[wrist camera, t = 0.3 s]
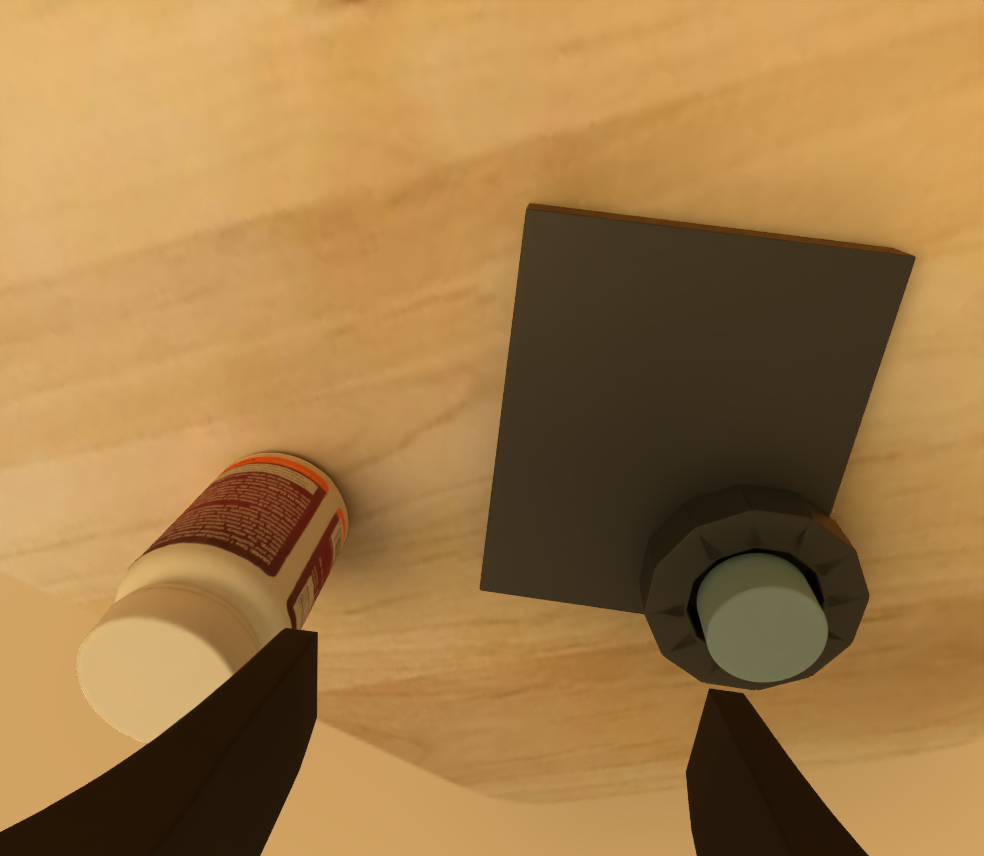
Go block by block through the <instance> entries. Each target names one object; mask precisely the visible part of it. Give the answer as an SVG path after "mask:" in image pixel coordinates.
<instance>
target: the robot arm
mask: <svg viewBox="0 0 984 856" xmlns="http://www.w3.org/2000/svg"><path fill="white" fill-rule="evenodd" d="M317 654H318V632H312V631H305V630H298V629H291V628H285V629H283V630H282V631H280V632H279V633H278V634H277V635H276V636H275V637H274V638H273V639H272V640H270V641H269V642H268V643H267V644H266V645H265V646H264V647H263V648H262V649H261V650H260V651H259V652H258V653H257V654H255V655H254V656H253V657H252V658H251V659H250V660H249V661H248V662H247V663H246V664H245V665H243V666H242V667H241V668H240V669H239V670H238V671H237V672H236V673H235V674H233V675H232V676H231V677H230V678H229V679H228V680H227V681H225V682H224V683H223V684H222V685H221V686H220V687H218V688H217V689H216V690H215V691H214V692H213V693H211V694H210V695H209V696H208V697H207V698H206V699H204V700H203V701H202V702H201V703H200V704H198V705H197V706H196V707H195V708H194V709H192V710H191V711H190V712H188V713H187V714H186V715H185V716H183V717H182V718H181V719H179V720H178V721H177V722H176V723H174V724H173V725H172V726H170V727H169V728H168V729H167V730H165V731H164V732H163V733H162V734H160V735H159V736H158V737H156V738H155V739H154V740H152V741H151V742H149V743H148V744H147V745H145V746H144V747H143V748H141V749H140V750H138V751H137V752H136V753H134V754H133V755H131V756H130V757H128V758H127V759H125V760H124V761H122V762H121V763H120V764H118V765H116V766H115V767H113V768H112V769H110V770H109V771H107V772H106V773H104V774H103V775H101V776H99V777H98V778H96V779H94V780H93V781H91V782H90V783H88V784H86V785H85V786H83V787H81V788H80V789H78V790H76V791H75V792H73V793H71V794H69V795H67V796H66V797H64V798H62V799H61V800H59V801H57V802H55V803H54V804H52V805H50V806H48V807H47V808H45V809H44V810H42V811H40V812H38V813H36V814H35V815H32V816H31V817H29V818H27V819H25V820H23V821H21V822H19V823H17V824H15V825H13V826H11V827H9V828H7V829H5V830H3V831H1V832H0V856H260V855H261V853H262V851H263V849H264V846H265V844H266V842H267V840H268V838H269V835H270V834H271V831H272V829H273V827H274V825H275V823H276V821H277V818H278V816H279V814H280V812H281V810H282V807H283V805H284V803H285V801H286V799H287V796H288V794H289V792H290V790H291V788H292V786H293V784H294V781H295V779H296V777H297V775H298V772H299V770H300V767H301V764H302V761H303V758H304V755H305V752H306V749H307V746H308V743H309V740H310V737H311V734H312V731H313V727H314V725H315V721H316V718H317ZM686 779H687V790H688V801H689V811H690V820H691V829H692V834H693V839H694V845H695V849H696V854H697V856H869V855H868V854H867V853H866V852H865V851H864V850H863V849H862V848H861V847H860V845H859V844H858V843H857V842H856V841H855V839H854V838H853V837H852V836H851V835H850V834H849V832H848V831H847V830H846V829H845V828H844V827H843V825H842V824H841V823H840V822H839V821H838V820H837V818H836V817H835V816H834V815H833V814H832V812H831V811H830V810H829V808H828V807H827V806H826V805H825V803H824V802H823V801H822V800H821V798H820V797H819V796H818V794H817V793H816V792H815V791H814V789H813V788H812V787H811V785H810V784H809V783H808V781H807V780H806V779H805V778H804V776H803V775H802V774H801V772H800V771H799V770H798V768H797V767H796V766H795V764H794V763H793V762H792V760H791V759H790V757H789V756H788V755H787V753H786V752H785V751H784V749H783V748H782V746H781V745H780V744H779V742H778V741H777V740H776V738H775V737H774V735H773V734H772V733H771V731H770V730H769V728H768V727H767V725H766V724H765V723H764V721H763V720H762V718H761V717H760V716H759V714H758V713H757V711H756V710H755V709H754V707H753V706H752V704H751V703H750V702H749V700H748V699H747V698H746V696H745V695H744V694H743V693H737V692H730V691H723V690H716V689H709V691H708V695H707V698H706V702H705V706H704V709H703V713H702V716H701V720H700V723H699V727H698V731H697V734H696V738H695V741H694V745H693V748H692V752H691V756H690V759H689V763H688V766H687V770H686Z"/></svg>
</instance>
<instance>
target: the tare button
mask: <svg viewBox="0 0 984 856" xmlns="http://www.w3.org/2000/svg"><path fill="white" fill-rule="evenodd" d="M697 611H698V614H699V618H700V622H701V625H702V629H703V633H704V636H705V640H706V643H707V647H708V650H709V652H710V654H711V656H712V658H713V659H714V661H715V662H716V663H717V664H718V665H719V666H720V667H721V668H722V669H724V670H725V671H726V672H728V673H729V674H731V675H733V676H735V677H738V678H740V679H743V680H747V681H752V682H775V681H780V680H784V679H787V678H791V677H793V676H795V675H797V674H799V673H801V672H803V671H804V670H806V669H807V668H808V667H810V666H811V665H812V664H813V663H814V662H815V661H816V660H817V659H818V658H819V656H820V655H821V653H822V652H823V650H824V647H825V645H826V641H827V637H828V624H827V619H826V617H825V614H824V612H823V610H822V608H821V606H820V605H819V603H818V601H817V599H816V597H815V595H814V593H813V591H812V590H811V588H810V586H809V584H808V582H807V580H806V578H805V577H804V575H803V574H802V572H801V571H800V570H799V569H798V568H797V567H796V566H795V565H793V564H792V563H790V562H789V561H787V560H785V559H783V558H781V557H778V556H775V555H771V554H766V553H747V554H742V555H737V556H734V557H732V558H729V559H727V560H725V561H723V562H721V563H720V564H718V565H717V566H716V567H714V568H713V569H712V570H711V571H710V572H709V573H708V574H707V575H706V577H705V578H704V579H703V581H702V583H701V585H700V587H699V590H698V594H697Z"/></svg>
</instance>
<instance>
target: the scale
mask: <svg viewBox="0 0 984 856" xmlns="http://www.w3.org/2000/svg"><path fill="white" fill-rule="evenodd" d="M914 261H915V256H913V255H910V254H908V253H905V252H902V251H900V250H897V249H894V248H889V247H881V246H872V245H864V244H856V243H848V242H840V241H832V240H824V239H816V238H807V237H799V236H791V235H783V234H775V233H767V232H759V231H751V230H742V229H734V228H726V227H718V226H710V225H702V224H694V223H686V222H677V221H669V220H661V219H653V218H645V217H637V216H629V215H621V214H612V213H604V212H596V211H588V210H580V209H572V208H564V207H556V206H547V205H539V204H531V203H530V204H529V205H528V207H527V209H526V214H525V223H524V231H523V239H522V247H521V255H520V263H519V272H518V280H517V288H516V296H515V304H514V312H513V320H512V329H511V337H510V345H509V353H508V361H507V369H506V378H505V386H504V394H503V402H502V410H501V418H500V426H499V435H498V443H497V451H496V459H495V467H494V475H493V483H492V492H491V500H490V508H489V516H488V524H487V532H486V541H485V549H484V557H483V565H482V573H481V581H480V590H482V591H489V592H496V593H503V594H509V595H516V596H523V597H530V598H537V599H544V600H551V601H558V602H564V603H571V604H578V605H585V606H592V607H599V608H606V609H612V610H619V611H626V612H633V613H640V614H645V617H646V619H647V621H648V624H649V626H650V628H651V631H652V633H653V635H654V638H655V640H656V642H657V645H658V647H659V649H660V652H661V653H662V654H663V656H664V657H666V658H667V659H669V660H670V661H672V662H673V663H674V664H676V665H677V666H679V667H680V668H682V669H683V670H685V671H686V672H688V673H689V674H691V675H692V676H693V677H695V678H696V679H698V680H699V681H701V682H705V683H709V684H716V685H722V686H729V687H736V688H742V689H749V690H756V689H757V690H762V689H766V688H770V687H773V686H777V685H781V684H785V683H789V682H793V681H797V680H801V679H804V678H808V677H810V676H813V675H814V674H815V673H816V672H818V671H819V670H820V669H821V668H823V667H824V666H825V665H826V664H828V663H829V662H830V661H831V660H833V659H834V658H835V657H836V656H837V655H839V654H840V653H841V652H842V651H844V650H845V649H846V648H847V647H849V646H850V645H851V643H852V642H853V640H854V638H855V635H856V632H857V630H858V627H859V624H860V622H861V619H862V616H863V614H864V611H865V608H866V606H867V603H868V600H869V592H868V589H867V585H866V582H865V579H864V575H863V572H862V569H861V565H860V562H859V559H858V555H857V552H856V551H855V549H854V548H853V546H852V545H851V543H850V542H849V540H848V539H847V537H846V536H845V534H844V533H843V532H842V530H841V529H840V527H839V526H838V524H837V523H836V522H835V521H834V520H832V519H831V518H830V517H829V516H830V513H831V510H832V507H833V504H834V501H835V498H836V495H837V492H838V489H839V486H840V483H841V480H842V477H843V474H844V471H845V468H846V465H847V462H848V459H849V456H850V453H851V450H852V447H853V444H854V441H855V438H856V435H857V432H858V429H859V426H860V423H861V420H862V417H863V414H864V411H865V408H866V405H867V402H868V399H869V396H870V393H871V390H872V387H873V384H874V381H875V378H876V375H877V372H878V369H879V366H880V363H881V360H882V357H883V354H884V351H885V348H886V345H887V342H888V339H889V336H890V333H891V330H892V327H893V324H894V321H895V318H896V315H897V312H898V309H899V306H900V303H901V300H902V297H903V294H904V291H905V288H906V285H907V282H908V279H909V276H910V273H911V270H912V267H913V264H914ZM747 553H766V554H771V555H775V556H778V557H781V558H783V559H785V560H787V561H789V562H790V563H792V564H793V565H795V566H796V567H797V568H798V569H799V570H800V571H801V572H802V574H803V575H804V577H805V578H806V580H807V582H808V584H809V586H810V588H811V590H812V591H813V593H814V595H815V597H816V599H817V601H818V603H819V605H820V606H821V608H822V610H823V612H824V614H825V617H826V619H827V624H828V637H827V641H826V645H825V647H824V650H823V652H822V653H821V655H820V656H819V658H818V659H817V660H816V661H815V662H814V663H813V664H812V665H811V666H810V667H808V668H807V669H806V670H804V671H803V672H801V673H799V674H797V675H795V676H793V677H791V678H787V679H784V680H780V681H775V682H752V681H747V680H743V679H740V678H738V677H735V676H733V675H731V674H729V673H728V672H726V671H725V670H724V669H722V668H721V667H720V666H719V665H718V664H717V663H716V662H715V661H714V659H713V658H712V656H711V654H710V652H709V650H708V647H707V643H706V640H705V636H704V633H703V629H702V625H701V622H700V618H699V614H698V611H697V594H698V590H699V587H700V585H701V583H702V581H703V579H704V578H705V577H706V575H707V574H708V573H709V572H710V571H711V570H712V569H713V568H714V567H716V566H717V565H718V564H720V563H721V562H723V561H725V560H727V559H729V558H732V557H734V556H737V555H742V554H747Z"/></svg>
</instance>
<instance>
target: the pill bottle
mask: <svg viewBox="0 0 984 856" xmlns="http://www.w3.org/2000/svg"><path fill="white" fill-rule="evenodd" d="M347 534H348V514H347V509H346V506H345V503H344V500H343V498H342V496H341V494H340V492H339V490H338V489H337V487H336V486H335V484H334V483H333V482H332V480H331V479H330V478H329V477H328V476H327V475H326V474H325V473H324V472H323V471H321V470H320V469H318V468H317V467H315V466H314V465H312V464H311V463H309V462H307V461H305V460H303V459H300V458H297V457H295V456H291V455H287V454H283V453H269V452H266V453H258V454H254V455H250V456H247V457H244V458H242V459H239V460H238V461H236V462H234V463H233V464H231V465H230V466H229V467H228V468H226V469H225V470H224V471H223V472H222V473H221V474H220V475H219V476H218V477H217V479H215V480H214V481H213V482H212V483H211V484H210V485H209V487H208V488H207V489H206V490H205V491H204V492H203V493H202V494H201V495H200V496H199V497H198V498H197V499H196V500H195V501H194V502H193V503H192V504H191V505H190V507H189V508H188V509H186V510H185V511H184V513H183V514H182V515H181V516H180V517H179V518H178V519H177V520H176V521H175V522H174V523H173V524H172V525H171V526H170V527H169V528H168V529H167V530H166V531H165V532H164V533H163V534H162V535H161V536H160V537H159V538H158V539H157V540H156V541H155V543H154V544H152V545H151V547H150V548H149V549H148V550H147V551H146V552H145V553H144V554H143V555H142V556H141V557H140V558H138V559H137V560H136V561H135V562H134V563H133V564H132V565H131V567H130V568H129V569H128V571H127V573H126V574H125V576H124V578H123V579H122V581H121V583H120V585H119V588H118V590H117V593H116V597H115V602H114V604H113V605H112V606H111V607H110V608H109V610H108V611H107V612H106V614H105V615H104V616H103V617H102V619H101V620H100V621H99V622H98V623H97V624H96V626H95V627H94V628H93V629H92V630H91V631H90V633H89V634H88V635H87V636H86V638H85V639H84V641H83V642H82V644H81V646H80V649H79V651H78V654H77V660H76V661H77V662H76V672H77V678H78V682H79V685H80V688H81V690H82V692H83V694H84V696H85V698H86V699H87V701H88V703H89V704H90V705H91V707H92V708H93V709H94V710H95V711H96V712H97V713H98V714H99V715H100V716H101V717H102V718H103V719H104V720H105V721H106V722H107V723H108V724H110V725H111V726H113V727H114V728H115V729H116V730H118V731H120V732H121V733H123V734H125V735H127V736H129V737H131V738H133V739H135V740H137V741H140V742H143V743H146V744H148V743H149V742H151V741H152V740H154V739H155V738H156V737H158V736H159V735H160V734H162V733H163V732H164V731H165V730H167V729H168V728H169V727H170V726H172V725H173V724H174V723H176V722H177V721H178V720H179V719H181V718H182V717H183V716H185V715H186V714H187V713H188V712H190V711H191V710H192V709H194V708H195V707H196V706H197V705H198V704H200V703H201V702H202V701H203V700H204V699H206V698H207V697H208V696H209V695H210V694H211V693H213V692H214V691H215V690H216V689H217V688H218V687H220V686H221V685H222V684H223V683H224V682H225V681H227V680H228V679H229V678H230V677H231V676H232V675H233V674H235V673H236V672H237V671H238V670H239V669H240V668H241V667H242V666H243V665H245V664H246V663H247V662H248V661H249V660H250V659H251V658H252V657H253V656H254V655H255V654H257V653H258V652H259V651H260V650H261V649H262V648H263V647H264V646H265V645H266V644H267V643H268V642H269V641H270V640H272V639H273V638H274V637H275V636H276V635H277V634H278V633H279V632H280V631H282V630H283V629H285V628H291V629H298V630H301V629H302V626H303V625H304V623H305V621H306V619H307V617H308V615H309V613H310V611H311V609H312V607H313V605H314V602H315V600H316V599H317V597H318V595H319V593H320V591H321V589H322V587H323V585H324V583H325V581H326V579H327V577H328V575H329V574H330V572H331V569H332V567H333V566H334V564H335V562H336V560H337V558H338V556H339V554H340V552H341V550H342V548H343V545H344V543H345V541H346V537H347Z"/></svg>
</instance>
